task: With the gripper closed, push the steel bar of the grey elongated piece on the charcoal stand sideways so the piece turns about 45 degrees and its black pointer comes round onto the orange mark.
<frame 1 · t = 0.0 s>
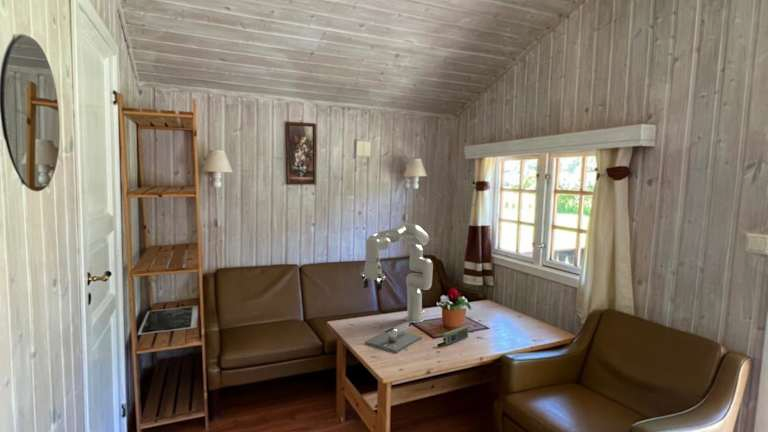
hand: (372, 288, 248), 31 cm above the table, tool pointing down, fingers open, 9 cm apart
grey elongated piece: (398, 331, 250), point 6 cm above the table, hinge at 0.0°
stand plate: (393, 341, 251), on the table
handheld radio: (452, 342, 250), on the table
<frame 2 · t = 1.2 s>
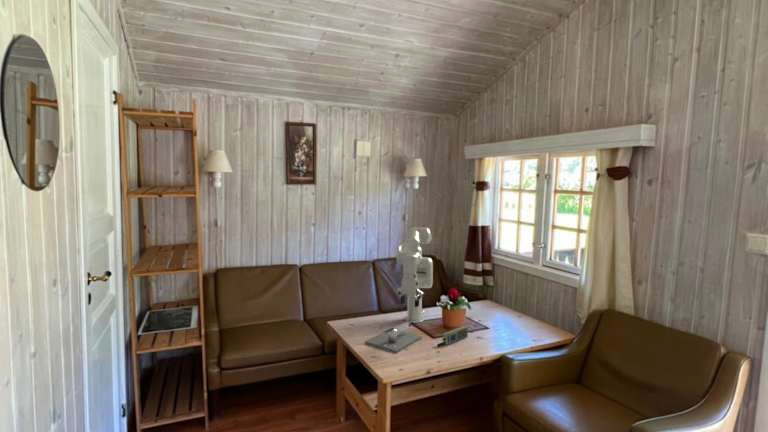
hand: (409, 304, 246), 22 cm above the table, tool pointing down, fingers open, 9 cm apart
nothing on the table moved.
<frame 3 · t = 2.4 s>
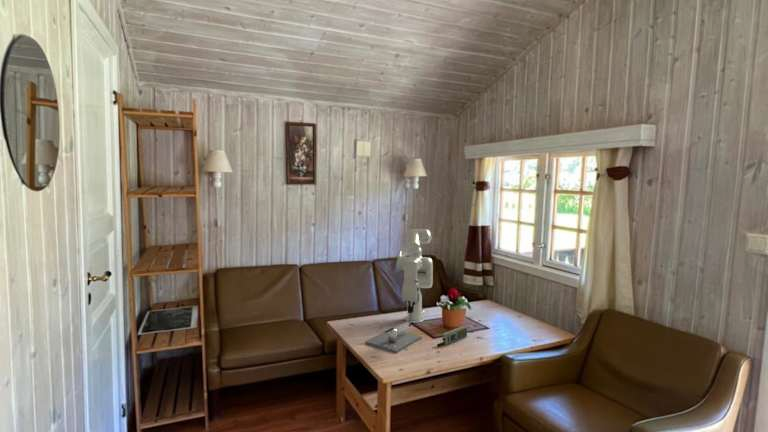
hand: (410, 312, 246), 18 cm above the table, tool pointing down, fingers closed
nothing on the table moved.
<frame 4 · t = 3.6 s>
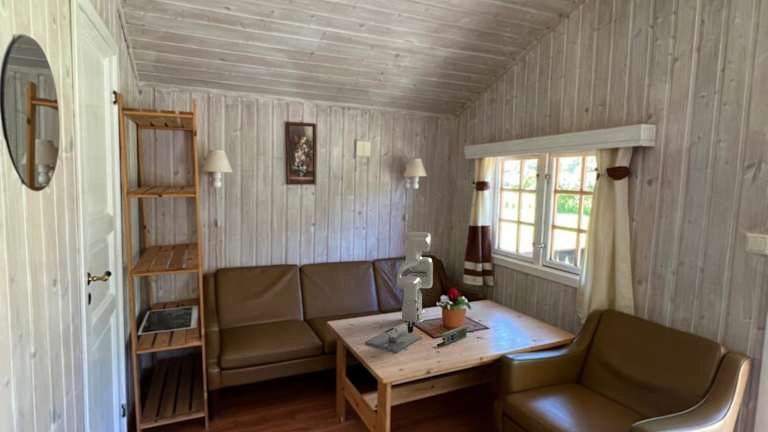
hand: (410, 332, 248), 6 cm above the table, tool pointing down, fingers closed
nothing on the table moved.
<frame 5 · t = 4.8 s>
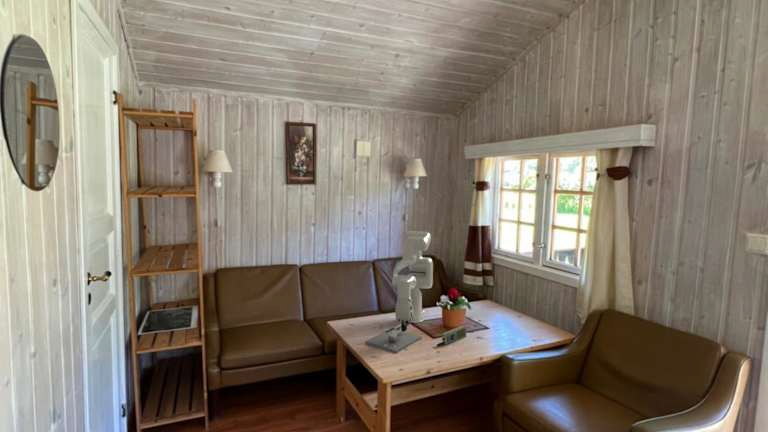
hand: (404, 330, 251), 6 cm above the table, tool pointing down, fingers closed
grey elongated piece: (397, 331, 251), point 6 cm above the table, hinge at 4.8°, touching gripper
everything else where it was.
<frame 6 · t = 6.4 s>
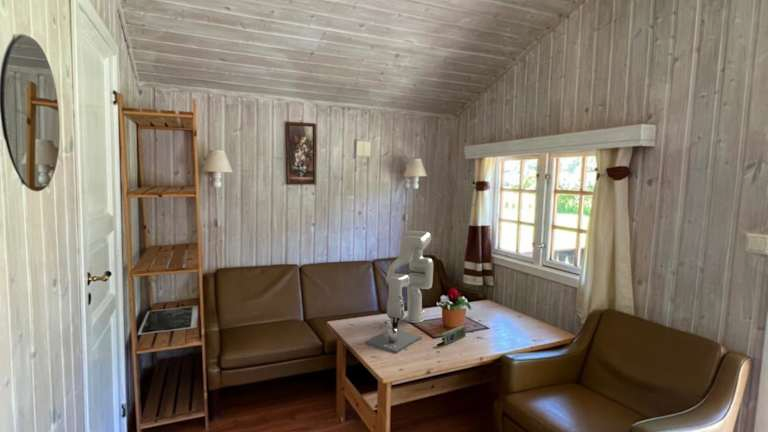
hand: (395, 328, 254), 7 cm above the table, tool pointing down, fingers closed
grey elongated piece: (390, 330, 251), point 6 cm above the table, hinge at 46.4°, touching gripper
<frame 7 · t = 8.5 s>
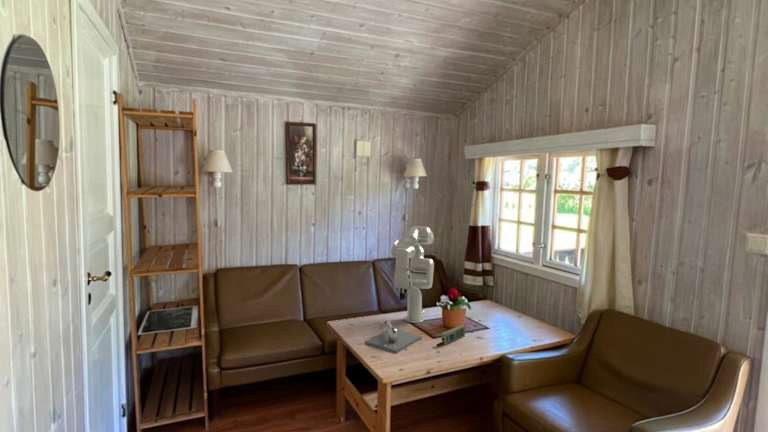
hand: (402, 299, 253), 24 cm above the table, tool pointing down, fingers closed
grey elongated piece: (390, 330, 251), point 6 cm above the table, hinge at 46.6°
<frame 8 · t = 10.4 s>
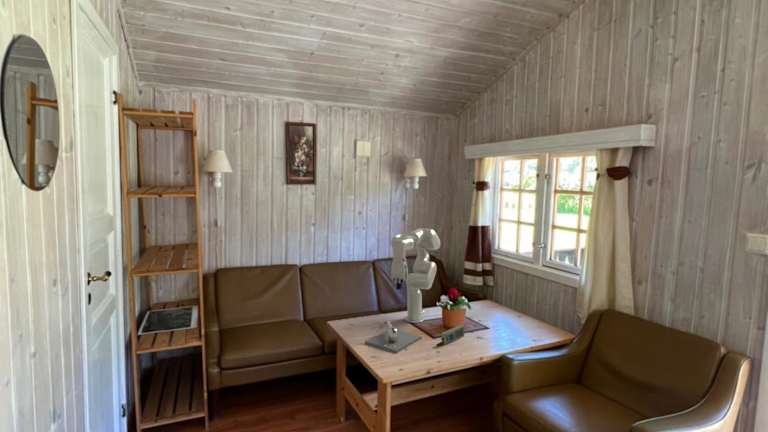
hand: (399, 289, 263), 27 cm above the table, tool pointing down, fingers closed
at the end: grey elongated piece at +47° (first picture: +0°); handheld radio moved 1.8 cm from its start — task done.
